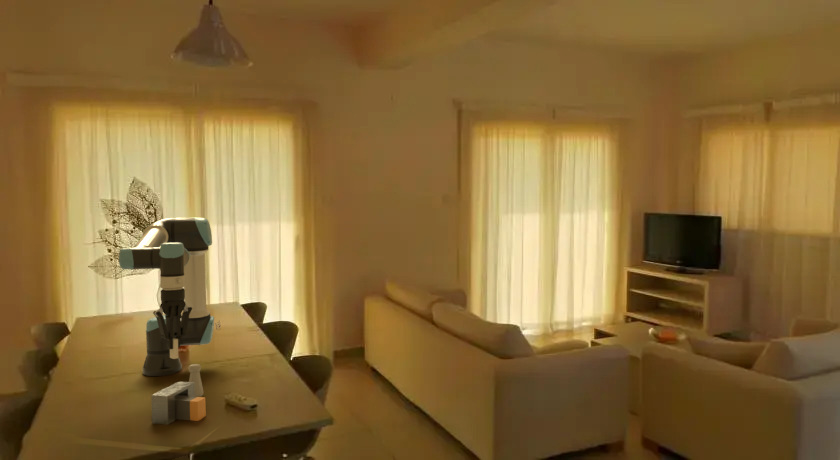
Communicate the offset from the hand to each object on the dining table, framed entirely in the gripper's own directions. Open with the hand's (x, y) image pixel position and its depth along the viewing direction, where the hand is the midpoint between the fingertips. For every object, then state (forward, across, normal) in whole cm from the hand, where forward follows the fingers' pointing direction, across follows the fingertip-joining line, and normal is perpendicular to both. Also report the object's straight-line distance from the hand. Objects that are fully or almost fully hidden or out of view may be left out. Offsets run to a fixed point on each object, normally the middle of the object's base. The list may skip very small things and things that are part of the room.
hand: (174, 357), depth 203 cm
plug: (+20, +2, -2) cm, 20 cm away
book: (+19, +76, +88) cm, 118 cm away
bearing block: (+20, 0, +2) cm, 20 cm away
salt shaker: (+20, +14, +11) cm, 27 cm away
